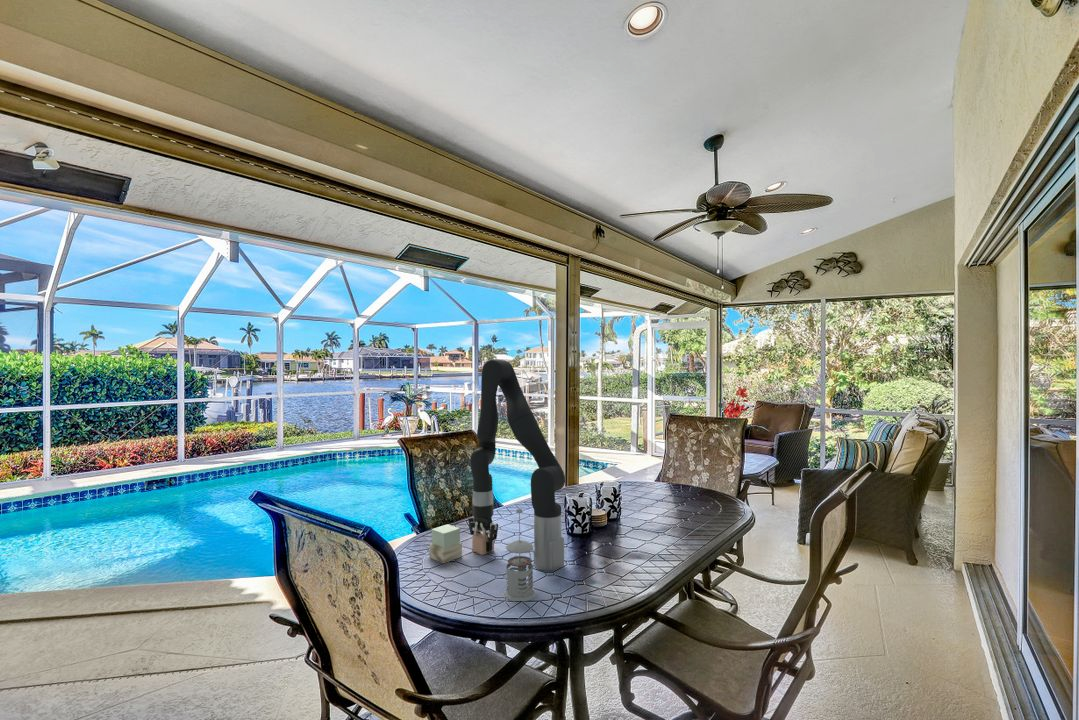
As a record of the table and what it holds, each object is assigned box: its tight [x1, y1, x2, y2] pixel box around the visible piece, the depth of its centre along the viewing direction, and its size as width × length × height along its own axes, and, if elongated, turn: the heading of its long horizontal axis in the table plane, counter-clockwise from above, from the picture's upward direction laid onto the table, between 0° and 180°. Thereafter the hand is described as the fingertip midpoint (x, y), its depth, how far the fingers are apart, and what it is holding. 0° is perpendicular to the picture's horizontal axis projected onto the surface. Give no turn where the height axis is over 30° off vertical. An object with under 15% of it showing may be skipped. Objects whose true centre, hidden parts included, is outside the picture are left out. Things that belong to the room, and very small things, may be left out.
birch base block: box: [429, 541, 463, 564], centre depth 172 cm, size 8×8×5 cm
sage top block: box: [431, 523, 461, 548], centre depth 172 cm, size 7×7×5 cm
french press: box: [503, 508, 537, 602], centre depth 145 cm, size 10×12×25 cm
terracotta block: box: [471, 531, 495, 556], centre depth 177 cm, size 6×6×6 cm
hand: (483, 549), depth 177 cm, fingers closed on terracotta block, 5 cm apart
